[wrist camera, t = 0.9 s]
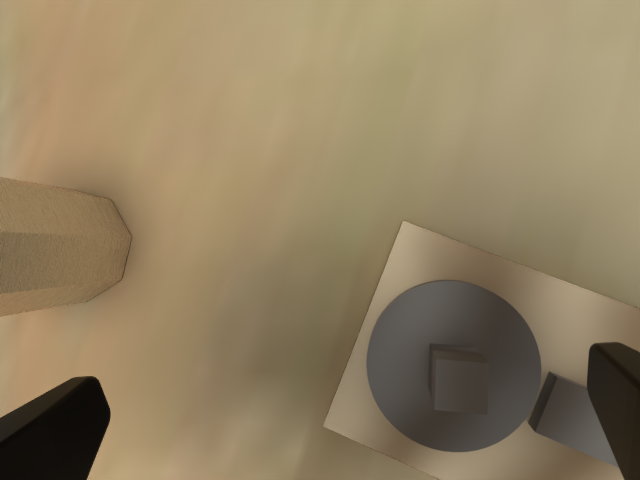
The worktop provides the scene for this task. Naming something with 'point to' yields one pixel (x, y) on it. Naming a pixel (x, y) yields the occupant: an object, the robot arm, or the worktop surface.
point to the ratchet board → (553, 337)
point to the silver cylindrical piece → (56, 246)
